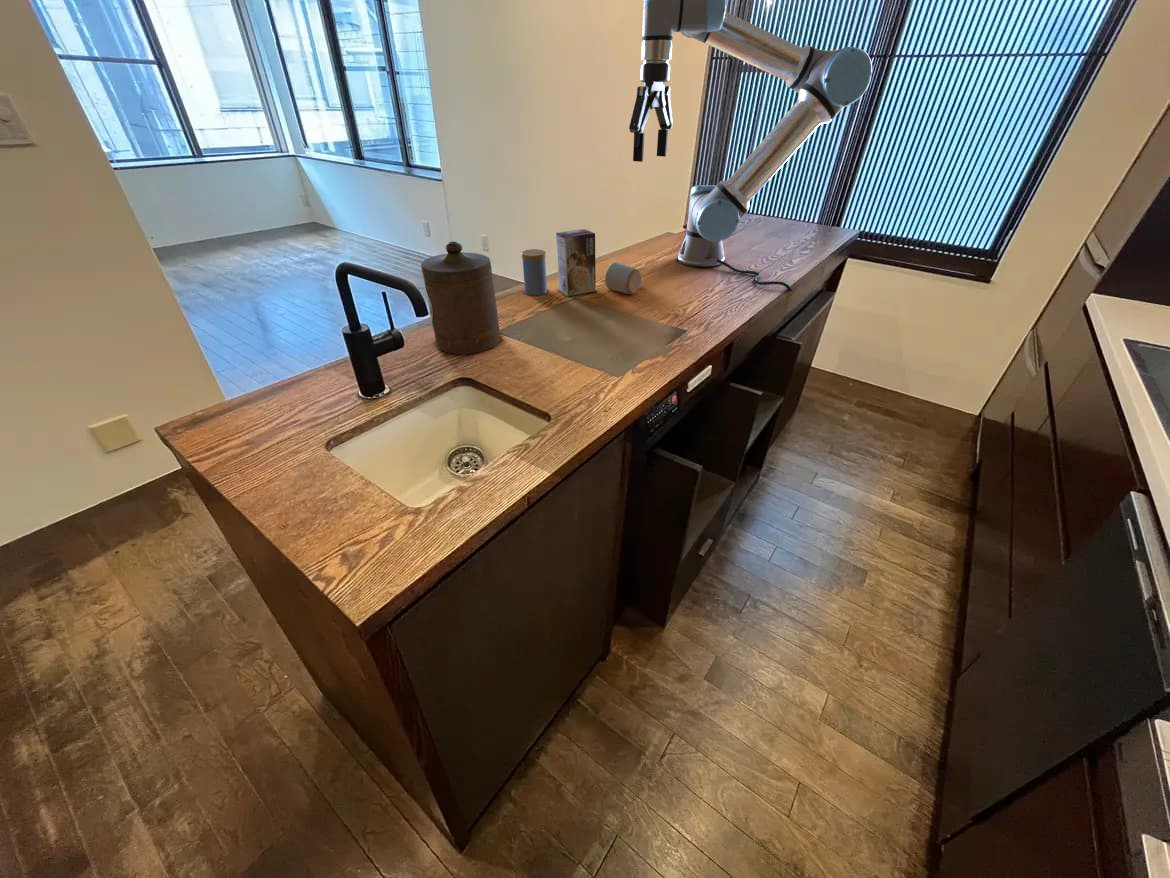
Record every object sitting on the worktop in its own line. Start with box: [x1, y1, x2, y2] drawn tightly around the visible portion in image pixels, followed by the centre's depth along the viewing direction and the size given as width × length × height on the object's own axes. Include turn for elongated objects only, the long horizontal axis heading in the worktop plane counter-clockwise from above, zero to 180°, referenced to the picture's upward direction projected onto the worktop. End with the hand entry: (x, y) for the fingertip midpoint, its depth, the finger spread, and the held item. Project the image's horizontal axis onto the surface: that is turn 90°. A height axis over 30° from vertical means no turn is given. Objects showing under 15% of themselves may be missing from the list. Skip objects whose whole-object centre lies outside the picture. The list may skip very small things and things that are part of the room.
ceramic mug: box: [604, 261, 643, 295], centre depth 138 cm, size 11×8×8 cm
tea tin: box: [520, 248, 548, 296], centre depth 137 cm, size 7×7×11 cm
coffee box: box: [556, 228, 597, 297], centre depth 135 cm, size 9×6×16 cm
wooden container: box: [420, 241, 501, 355], centre depth 106 cm, size 15×15×22 cm
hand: (650, 158), depth 135 cm, fingers open, 13 cm apart
